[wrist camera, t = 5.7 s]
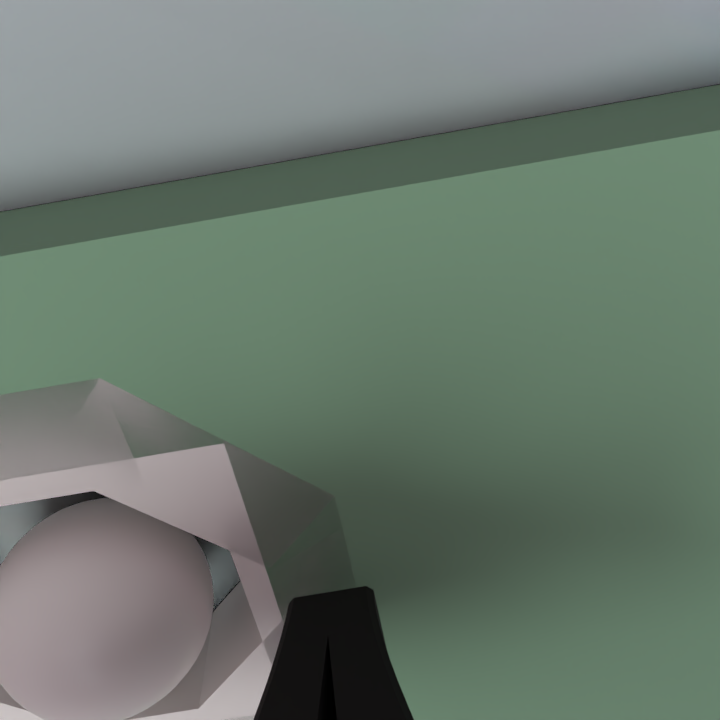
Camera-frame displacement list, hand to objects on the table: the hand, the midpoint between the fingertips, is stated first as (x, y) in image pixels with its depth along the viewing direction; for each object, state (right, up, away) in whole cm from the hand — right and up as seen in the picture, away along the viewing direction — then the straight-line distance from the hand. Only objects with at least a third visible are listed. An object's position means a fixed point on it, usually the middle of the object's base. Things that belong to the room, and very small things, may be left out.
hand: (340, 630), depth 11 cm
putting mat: (-1, +2, +3) cm, 3 cm away
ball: (-5, 0, +1) cm, 5 cm away
